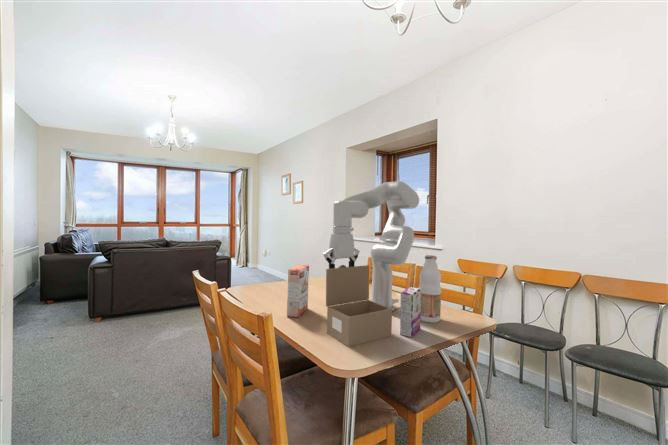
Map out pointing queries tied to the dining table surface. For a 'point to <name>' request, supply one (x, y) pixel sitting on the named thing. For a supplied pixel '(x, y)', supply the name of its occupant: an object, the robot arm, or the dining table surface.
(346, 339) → the carton
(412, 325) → the candy bar box
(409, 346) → the dining table surface
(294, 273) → the cracker box
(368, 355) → the dining table surface
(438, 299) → the fruit juice
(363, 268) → the carton lid
